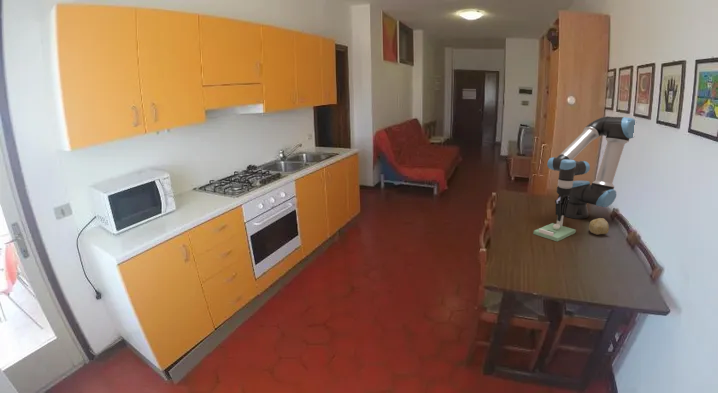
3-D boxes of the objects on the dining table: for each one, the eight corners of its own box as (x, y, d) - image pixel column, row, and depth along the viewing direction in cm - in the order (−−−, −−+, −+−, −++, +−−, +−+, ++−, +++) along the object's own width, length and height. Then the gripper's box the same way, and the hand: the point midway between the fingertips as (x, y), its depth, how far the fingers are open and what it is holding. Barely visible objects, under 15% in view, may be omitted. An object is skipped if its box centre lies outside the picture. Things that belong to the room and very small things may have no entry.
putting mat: (551, 226, 223) (552, 219, 222) (575, 232, 212) (576, 226, 210) (533, 234, 212) (534, 227, 211) (557, 241, 201) (558, 234, 200)
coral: (617, 225, 203) (602, 219, 201) (606, 240, 206) (591, 234, 205) (606, 218, 211) (592, 212, 210) (596, 232, 215) (581, 226, 214)
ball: (553, 221, 212) (551, 227, 212) (559, 223, 209) (557, 229, 209) (555, 224, 214) (553, 229, 214) (561, 226, 211) (559, 231, 211)
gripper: (563, 183, 213) (558, 221, 220) (552, 187, 206) (547, 226, 213) (577, 186, 207) (571, 224, 214) (565, 190, 200) (559, 230, 207)
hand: (559, 225), depth 213 cm, fingers closed
